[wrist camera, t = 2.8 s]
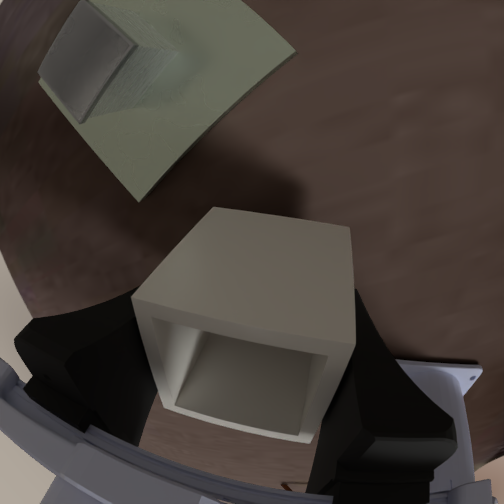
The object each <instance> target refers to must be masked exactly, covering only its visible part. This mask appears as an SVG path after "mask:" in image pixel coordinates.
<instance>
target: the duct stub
mask: <svg viewBox="0 0 504 504" xmlns="http://www.w3.org/2000/svg"><path fill="white" fill-rule="evenodd" d="M297 54H298V53H297V52H296V50H295V49H294V48H293V47H292V46H291V45H290V44H289V43H288V42H287V41H286V40H285V39H283V38H282V37H281V36H280V35H279V34H278V33H277V32H276V31H275V30H274V29H273V28H272V27H271V26H270V25H269V24H268V23H266V22H265V21H264V20H263V19H262V18H261V17H260V16H259V15H258V14H256V13H255V12H254V11H253V10H252V9H251V8H249V7H248V6H247V5H246V4H245V3H244V2H242V1H241V0H80V1H79V3H78V4H77V6H76V7H75V8H74V10H73V11H72V13H71V14H70V16H69V17H68V19H67V21H66V22H65V24H64V25H63V27H62V29H61V30H60V32H59V34H58V35H57V37H56V39H55V40H54V42H53V44H52V46H51V47H50V49H49V51H48V53H47V55H46V57H45V58H44V60H43V62H42V64H41V66H40V68H39V70H38V74H39V75H40V76H41V78H40V80H39V82H38V83H39V84H40V85H41V87H42V88H43V89H44V90H45V92H46V93H47V94H48V95H49V97H50V98H51V99H52V101H53V102H54V103H55V104H56V106H57V107H58V108H59V109H60V111H61V112H62V113H63V114H64V116H65V117H66V118H67V119H68V121H69V122H70V123H71V124H72V125H73V127H74V128H75V129H76V130H77V132H78V133H79V134H80V135H81V136H82V138H83V139H84V140H85V141H86V142H87V144H88V145H89V146H90V147H91V148H92V149H93V151H94V152H95V153H96V154H97V155H98V157H99V158H100V159H101V160H102V161H103V162H104V164H105V165H106V166H107V167H108V168H109V169H110V170H111V172H112V173H113V174H114V175H115V176H116V177H117V179H118V180H119V181H120V182H121V183H122V184H123V185H124V186H125V188H126V189H127V190H128V191H129V192H130V193H131V194H132V195H133V197H134V198H135V199H136V200H137V201H138V202H140V201H142V200H143V199H145V198H146V197H147V196H148V195H149V194H150V193H151V192H152V191H153V189H154V188H155V187H156V186H157V185H158V184H159V183H160V182H161V180H162V179H163V178H164V177H165V176H166V175H167V174H168V173H169V172H170V171H171V170H172V169H173V167H174V166H175V165H176V164H177V163H178V162H179V161H180V160H181V159H182V158H183V157H184V156H185V155H186V154H187V153H188V152H189V151H190V150H191V149H192V148H193V147H194V146H195V145H196V144H197V143H198V142H199V141H200V140H201V139H202V138H203V137H204V136H205V135H206V134H207V133H208V132H209V131H210V130H211V129H212V128H213V127H214V126H215V125H216V124H217V123H218V122H219V121H220V120H221V119H222V118H223V117H224V116H225V115H226V114H228V113H229V112H230V111H231V110H232V109H233V108H234V107H235V106H236V105H237V104H238V103H239V102H241V101H242V100H243V99H244V98H245V97H246V96H247V95H248V94H250V93H251V92H252V91H253V90H254V89H255V88H256V87H258V86H259V85H260V84H261V83H262V82H263V81H265V80H266V79H267V78H268V77H269V76H271V75H272V74H273V73H274V72H275V71H277V70H278V69H279V68H280V67H282V66H283V65H284V64H285V63H286V62H288V61H289V60H290V59H292V58H293V57H294V56H295V55H297Z"/></svg>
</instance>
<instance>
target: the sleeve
mask: <svg viewBox="0 0 504 504" xmlns="http://www.w3.org/2000/svg"><path fill="white" fill-rule="evenodd" d="M131 299H132V304H133V308H134V312H135V315H136V319H137V323H138V327H139V331H140V334H141V338H142V341H143V345H144V348H145V352H146V355H147V358H148V361H149V365H150V368H151V371H152V374H153V377H154V380H155V383H156V386H157V389H158V392H159V395H160V398H161V400H162V403H163V406H164V408H166V409H169V410H172V411H175V412H178V413H181V414H184V415H187V416H190V417H194V418H197V419H200V420H204V421H207V422H210V423H214V424H218V425H221V426H225V427H229V428H233V429H237V430H241V431H245V432H250V433H254V434H259V435H263V436H268V437H273V438H279V439H284V440H290V441H296V442H302V443H309V444H310V442H311V440H312V438H313V436H314V435H315V433H316V431H317V429H318V427H319V425H320V423H321V421H322V419H323V417H324V415H325V413H326V411H327V409H328V407H329V405H330V402H331V400H332V398H333V396H334V394H335V392H336V390H337V387H338V385H339V383H340V381H341V378H342V376H343V374H344V372H345V369H346V367H347V365H348V362H349V360H350V357H351V355H352V353H353V350H354V348H355V345H356V321H355V293H354V275H353V260H352V247H351V236H350V227H346V226H340V225H334V224H328V223H322V222H316V221H310V220H303V219H297V218H290V217H284V216H277V215H270V214H263V213H256V212H249V211H242V210H234V209H227V208H219V207H213V208H212V209H211V210H210V211H209V212H208V213H207V214H206V215H205V216H204V217H203V218H202V219H201V220H200V221H199V222H198V223H197V224H196V225H195V226H194V227H193V229H192V230H191V231H190V232H189V233H188V234H187V235H186V236H185V237H184V238H183V239H182V240H181V241H180V242H179V244H178V245H177V246H176V247H175V248H174V249H173V250H172V251H171V252H170V253H169V254H168V256H167V257H166V258H165V259H164V260H163V261H162V262H161V263H160V264H159V266H158V267H157V268H156V269H155V270H154V271H153V272H152V273H151V275H150V276H149V277H148V278H147V279H146V280H145V281H144V282H143V284H142V285H141V286H140V287H139V288H138V289H137V291H136V292H135V293H134V294H133V295H132V296H131Z"/></svg>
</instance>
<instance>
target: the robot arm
mask: <svg viewBox="0 0 504 504" xmlns="http://www.w3.org/2000/svg"><path fill="white" fill-rule="evenodd" d="M139 287H140V286H139ZM139 287H137V288H135V289H133V290H131V291H129V292H127V293H125V294H123V295H120V296H118V297H116V298H113V299H111V300H109V301H106V302H103V303H100V304H97V305H94V306H91V307H88V308H85V309H82V310H78V311H74V312H70V313H65V314H61V315H55V316H48V317H41V318H33V319H32V320H31V321H30V322H29V323H28V325H26V326H25V328H24V329H23V330H22V331H21V332H20V333H19V334H18V335H17V336H16V337H15V339H14V343H15V347H16V350H17V352H18V354H19V355H20V357H21V359H22V360H23V362H24V363H25V365H26V366H27V368H28V369H29V371H30V372H31V374H32V375H33V376H32V378H31V379H30V380H29V381H28V383H27V384H26V383H24V382H23V381H22V380H20V379H19V376H18V375H17V373H16V372H15V371H14V369H13V368H12V367H11V366H10V365H9V364H8V363H6V362H5V361H4V360H3V359H1V358H0V430H1V431H2V432H3V433H4V434H5V435H7V436H8V437H9V438H10V439H11V440H12V441H13V442H14V443H15V444H17V445H18V446H19V447H20V448H21V449H23V450H24V451H25V452H26V453H28V454H29V455H30V456H31V457H32V458H34V459H35V460H36V461H38V462H39V463H40V464H41V465H43V466H44V467H46V468H47V469H48V470H50V471H51V472H52V473H54V474H55V475H56V477H55V479H54V481H53V482H52V484H51V486H50V488H49V489H48V491H47V493H46V494H45V496H44V498H43V499H42V501H41V503H40V504H226V503H223V502H220V501H219V500H223V501H227V502H231V503H235V504H498V501H497V499H496V498H495V497H493V496H492V491H491V480H490V479H487V480H481V481H476V482H475V476H474V464H473V455H472V447H471V439H470V433H469V426H468V420H467V415H466V410H465V404H464V399H463V395H464V394H465V393H466V392H467V391H468V389H469V388H470V387H471V386H472V385H473V383H474V382H475V381H476V380H477V378H478V377H479V376H480V375H481V373H482V367H481V365H466V364H447V363H432V362H419V361H408V360H397V359H395V358H394V357H393V356H392V354H391V353H390V351H389V350H388V348H387V347H386V345H385V343H384V342H383V340H382V338H381V337H380V335H379V333H378V331H377V330H376V328H375V326H374V324H373V322H372V320H371V318H370V316H369V314H368V312H367V310H366V308H365V306H364V304H363V302H362V299H361V297H360V295H359V293H358V291H357V289H354V293H355V321H356V345H355V348H354V350H353V353H352V355H351V357H350V360H349V362H348V365H347V367H346V369H345V372H344V374H343V376H342V378H341V381H340V383H339V385H338V387H337V390H336V392H335V394H334V396H333V398H332V400H331V402H330V405H329V407H328V409H327V411H326V413H325V415H324V417H323V419H322V424H321V429H320V434H319V439H318V444H317V449H316V453H315V458H314V462H313V466H312V470H311V474H310V478H309V481H308V485H307V489H306V492H305V493H300V492H293V491H287V490H280V489H275V488H269V487H264V486H259V485H254V484H250V483H245V482H241V481H237V480H233V479H229V478H225V477H221V476H218V475H214V474H211V473H207V472H204V471H201V470H198V469H194V468H191V467H188V466H185V465H182V464H180V463H177V462H174V461H171V460H168V459H166V458H163V457H161V456H158V455H155V454H153V453H150V452H148V451H146V450H143V449H141V448H139V447H138V446H139V442H140V439H141V436H142V432H143V429H144V426H145V423H146V420H147V417H148V415H149V412H150V409H151V406H152V404H153V401H154V399H155V396H156V394H157V391H158V389H157V386H156V383H155V380H154V377H153V374H152V371H151V368H150V365H149V361H148V358H147V355H146V352H145V348H144V345H143V341H142V338H141V334H140V331H139V327H138V323H137V319H136V315H135V312H134V308H133V304H132V299H131V296H132V295H133V294H134V293H135V292H136V291H137V289H138V288H139ZM217 499H219V500H217Z"/></svg>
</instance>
